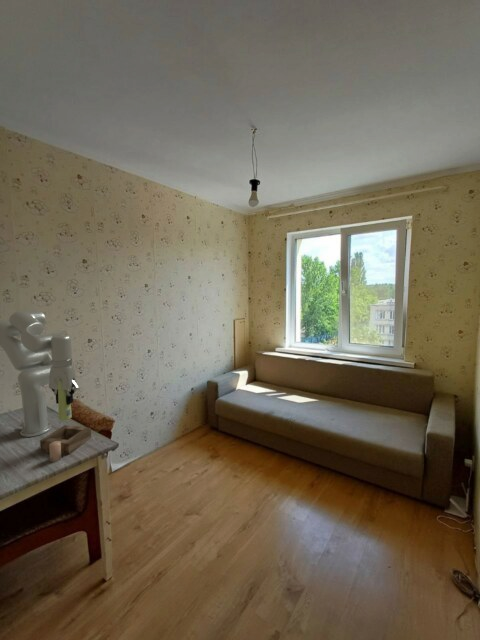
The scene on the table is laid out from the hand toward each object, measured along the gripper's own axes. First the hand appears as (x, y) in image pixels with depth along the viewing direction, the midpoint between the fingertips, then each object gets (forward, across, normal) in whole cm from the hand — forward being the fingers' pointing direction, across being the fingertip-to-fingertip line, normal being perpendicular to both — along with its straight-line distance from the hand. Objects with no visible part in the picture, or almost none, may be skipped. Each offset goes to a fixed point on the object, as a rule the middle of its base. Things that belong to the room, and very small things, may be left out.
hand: (64, 402), depth 128 cm
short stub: (+20, +4, -11) cm, 23 cm away
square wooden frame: (+20, 0, 0) cm, 20 cm away
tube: (+8, 0, 0) cm, 8 cm away
